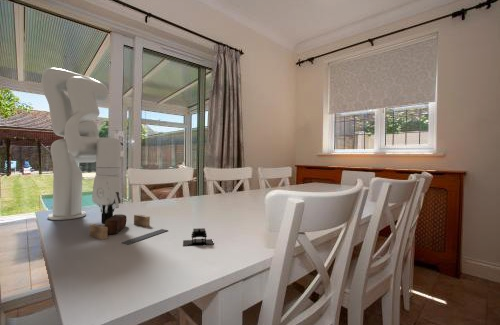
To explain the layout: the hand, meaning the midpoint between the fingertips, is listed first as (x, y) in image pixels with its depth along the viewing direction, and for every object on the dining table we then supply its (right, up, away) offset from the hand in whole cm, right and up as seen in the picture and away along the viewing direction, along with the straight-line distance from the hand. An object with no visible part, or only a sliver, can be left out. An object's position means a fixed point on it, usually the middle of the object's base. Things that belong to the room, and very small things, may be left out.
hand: (107, 223), depth 89 cm
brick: (+5, -2, -3) cm, 6 cm away
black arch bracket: (+36, -4, -12) cm, 38 cm away
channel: (+7, -2, -3) cm, 8 cm away
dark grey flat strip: (+18, -2, -9) cm, 20 cm away
